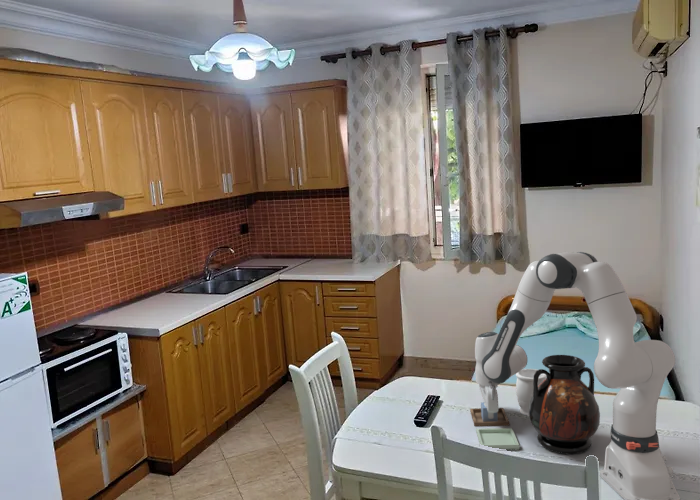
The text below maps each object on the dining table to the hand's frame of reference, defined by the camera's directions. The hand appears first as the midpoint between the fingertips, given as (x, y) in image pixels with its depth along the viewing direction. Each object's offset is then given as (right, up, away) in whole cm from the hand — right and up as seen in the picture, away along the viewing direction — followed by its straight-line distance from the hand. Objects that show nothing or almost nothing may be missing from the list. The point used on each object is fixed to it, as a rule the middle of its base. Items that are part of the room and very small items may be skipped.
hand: (489, 414), depth 208 cm
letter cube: (0, -2, 0) cm, 2 cm away
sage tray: (-1, -5, -16) cm, 17 cm away
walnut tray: (0, -2, 0) cm, 2 cm away
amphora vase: (+19, -4, -20) cm, 28 cm away
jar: (+17, -1, +4) cm, 17 cm away
